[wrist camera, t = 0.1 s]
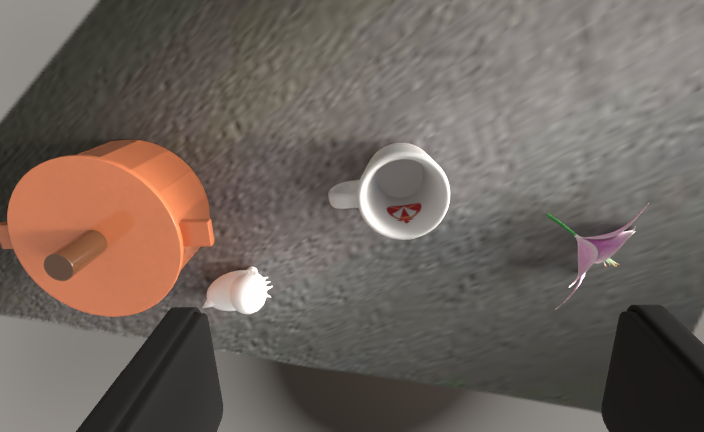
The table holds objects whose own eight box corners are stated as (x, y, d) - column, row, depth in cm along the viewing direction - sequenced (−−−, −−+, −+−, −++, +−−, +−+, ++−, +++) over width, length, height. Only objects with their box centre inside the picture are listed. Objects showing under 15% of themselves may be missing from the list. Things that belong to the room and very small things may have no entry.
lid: (-7, 154, 40) (-71, 174, 34) (169, 150, 39) (133, 169, 33) (43, 310, 46) (-5, 350, 40) (198, 309, 45) (172, 350, 39)
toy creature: (284, 286, 52) (273, 317, 46) (222, 307, 54) (203, 340, 48) (267, 252, 51) (253, 279, 45) (204, 274, 52) (182, 304, 46)
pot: (34, 142, 48) (-35, 162, 40) (225, 136, 46) (193, 157, 39) (70, 268, 53) (16, 309, 45) (242, 267, 52) (218, 308, 44)
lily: (517, 285, 52) (586, 346, 45) (495, 218, 44) (573, 278, 37) (601, 222, 53) (682, 272, 45) (592, 146, 45) (688, 190, 38)
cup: (340, 218, 49) (333, 250, 42) (326, 144, 46) (316, 165, 39) (443, 203, 48) (455, 234, 40) (434, 127, 45) (445, 145, 38)
